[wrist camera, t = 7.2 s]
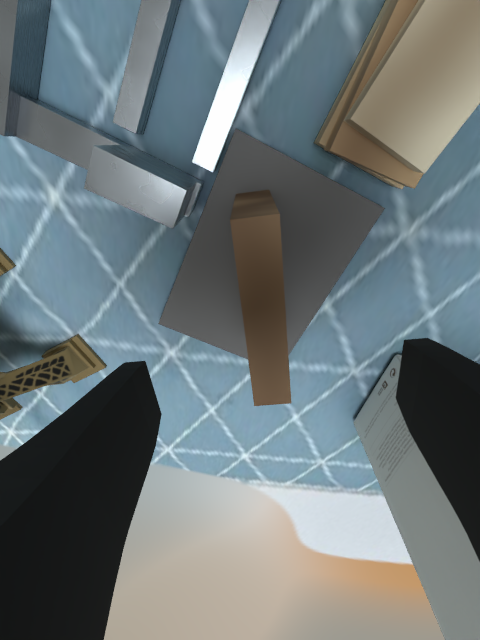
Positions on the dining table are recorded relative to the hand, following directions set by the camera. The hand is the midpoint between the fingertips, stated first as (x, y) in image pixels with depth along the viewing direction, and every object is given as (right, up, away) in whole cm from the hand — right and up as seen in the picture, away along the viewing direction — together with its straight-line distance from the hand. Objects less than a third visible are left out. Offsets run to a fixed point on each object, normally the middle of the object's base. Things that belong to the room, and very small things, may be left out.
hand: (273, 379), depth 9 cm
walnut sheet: (0, +4, +8) cm, 9 cm away
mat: (0, +5, +9) cm, 10 cm away
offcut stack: (+6, +12, +5) cm, 14 cm away
